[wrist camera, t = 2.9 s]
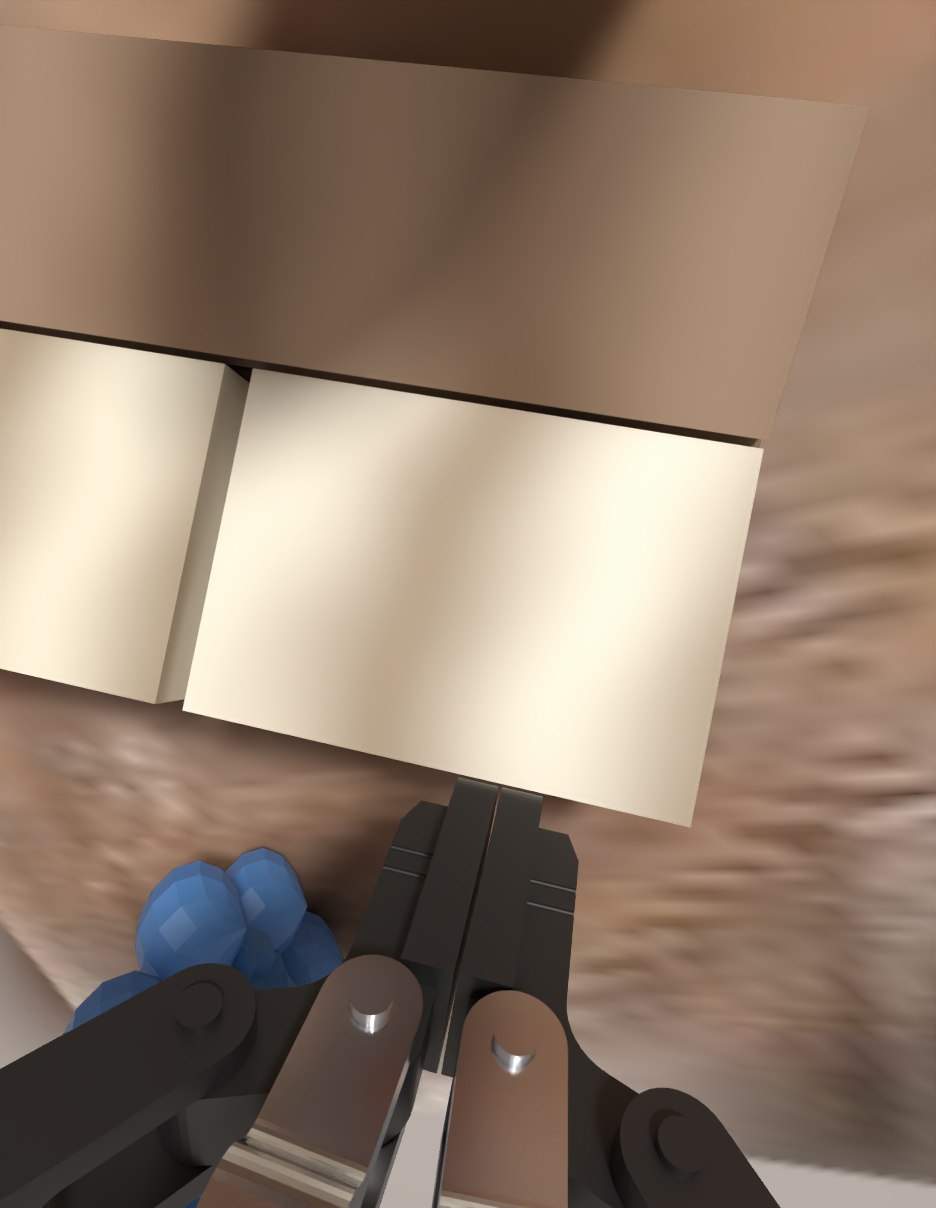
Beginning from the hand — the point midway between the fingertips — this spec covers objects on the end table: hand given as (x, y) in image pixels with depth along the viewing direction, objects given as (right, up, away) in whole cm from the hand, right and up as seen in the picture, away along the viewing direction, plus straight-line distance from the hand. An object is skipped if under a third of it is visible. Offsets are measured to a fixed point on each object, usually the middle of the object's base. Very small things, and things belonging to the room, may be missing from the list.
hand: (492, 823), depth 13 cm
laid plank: (-5, +11, +2) cm, 12 cm away
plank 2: (0, +4, +3) cm, 5 cm away
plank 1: (-11, +6, +4) cm, 13 cm away
